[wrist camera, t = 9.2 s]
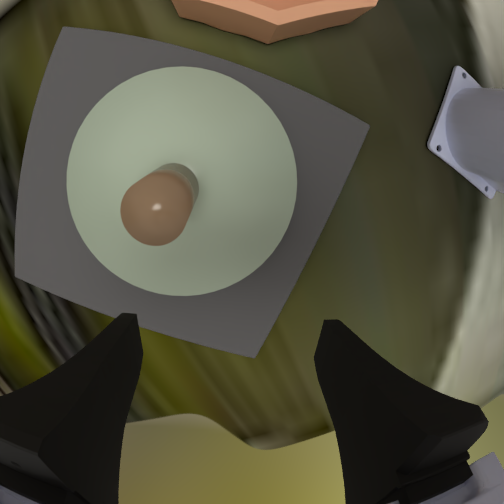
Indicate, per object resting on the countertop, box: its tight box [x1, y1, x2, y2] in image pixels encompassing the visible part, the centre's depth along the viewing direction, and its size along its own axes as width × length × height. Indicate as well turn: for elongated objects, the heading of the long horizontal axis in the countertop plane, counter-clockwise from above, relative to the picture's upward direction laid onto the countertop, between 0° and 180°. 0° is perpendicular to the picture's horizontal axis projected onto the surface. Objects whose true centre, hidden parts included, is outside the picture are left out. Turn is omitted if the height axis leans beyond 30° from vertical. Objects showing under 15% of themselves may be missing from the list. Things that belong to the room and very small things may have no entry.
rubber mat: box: [15, 27, 370, 358], centre depth 19 cm, size 22×20×1 cm
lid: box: [67, 66, 297, 296], centre depth 16 cm, size 15×15×6 cm
